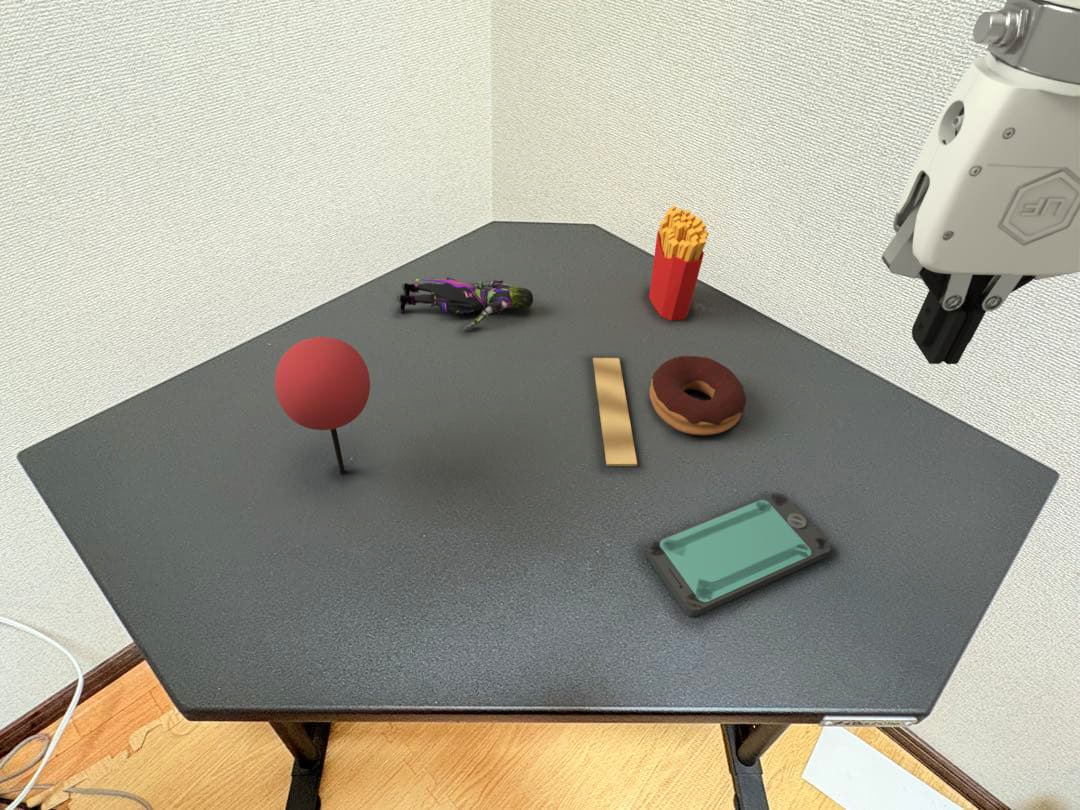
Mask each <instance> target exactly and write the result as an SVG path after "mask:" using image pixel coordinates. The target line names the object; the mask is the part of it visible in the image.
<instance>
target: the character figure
mask: <svg viewBox="0 0 1080 810" xmlns="http://www.w3.org/2000/svg"><path fill="white" fill-rule="evenodd" d="M419 281H421V279H420V278H416V279H415V283H408V282H407V283H406V282H402V284H401V288H402V290H403V294H398V295H397V302H398V311H399V313H404V312H405V311H406V309H405V308H406V305H407V306H416V305H417V304H425V305H426V304H428V305H429V304H430V305H429V306H430V308H433V307H435V306H436V307H438V308H439V311H440V312H443V313H444V314H446V313H456V314H460V315H463V314H464V313H466V314H470V313H472V312H474V311H475V312H476V311H481V313H480V314H479V315H478V316H477V317H476V318H475V319H474V320H473V321H472V322H471V323H469V324H468V325H465V326H464V328H463V329H462V330H463V331H468V330H472V329H473V328H474V327H475V326H476V325H479V324H480V323H481V322H482V321H483V320H485V319H486V318H487V317H489V315H490V314H494V313H498V314H500V315H501V311H503V310H504V309H512V308H519V309H528V308H530V307H531V306H532V305H533V303H534V294H533V292H532V291H531V290H530V289H528V288H526V287H520V286H517V285H509V284H506V283H505V284H504V283H503V282H504V280H503V279H502V280H497V279H494V280H493V281H491V280H490V281H488V280H487V281H474V283H471V284H469V283H465V282H462V281H459V280H456V279H454V278H453V277H448V276H447V277H446V278H423V279H422V281H425V282H424V283H418V282H419ZM432 282H433V283H432ZM486 287H487V288H491V289H489V290H486V289H483V288H486ZM419 291H421V292H427V293H430V294H427V293H426V294H420V292H419ZM410 293H412V295H410ZM417 293H418V294H419V295H413V294H417Z"/></svg>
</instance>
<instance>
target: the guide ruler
mask: <svg viewBox="0 0 1080 810" xmlns="http://www.w3.org/2000/svg"><path fill="white" fill-rule="evenodd" d="M592 367H593V373H594V381H595V382H594V383H595V390H596V397H597V404H598V413H599V419H600V427H601V435H602V437H601V438H602V443H603V451H604V458H605V466H606V467H638V460H637V454H636V448H635V442H634V436H633V431H632V425H631V419H630V413H629V407H628V401H627V395H626V390H625V389H626V388H625V383H624V378H623V371H622V366H621V360H620V358H619V357H592Z"/></svg>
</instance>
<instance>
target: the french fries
mask: <svg viewBox="0 0 1080 810" xmlns="http://www.w3.org/2000/svg"><path fill="white" fill-rule="evenodd" d="M684 210H685V209H684V208H683V207H680V208H678V209H677V206H676V205H675V204H673V205H671V206H670V207H669V208H668V210H667V212H666V214H665V215H664V217H663V220H662V221H660V222H659V228H658V230H657V233H656V239H655V240H656V241H655V247H654V255H653V262H652V263H653V264H652V272H651V277H650V278H651V280H650V285H649V293H648V298H649V300H650V302H651V304H652V305H653V307H654V309H655V310H656V312H657V314H659V315H658V316H660V317H662V318H664V319H666V320H668V321H671V322H672V321H679V320H685V319H686V318H687V316H688V314H689V312H690V307H691V304H692V301H693V296H694V293H695V290H696V286H697V282H698V278H699V274H700V270H701V266H702V263H703V259H704V256H705V252H704V251H703V250H704V248H705V246H706V243H707V238H708V237H709V231H708V230H707V229H706V228H707V223H706V222H703V218H702V217H700V218H699V217H697V215H696V213H693V214H691V211H690V209H687V210H685V211H684Z"/></svg>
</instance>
